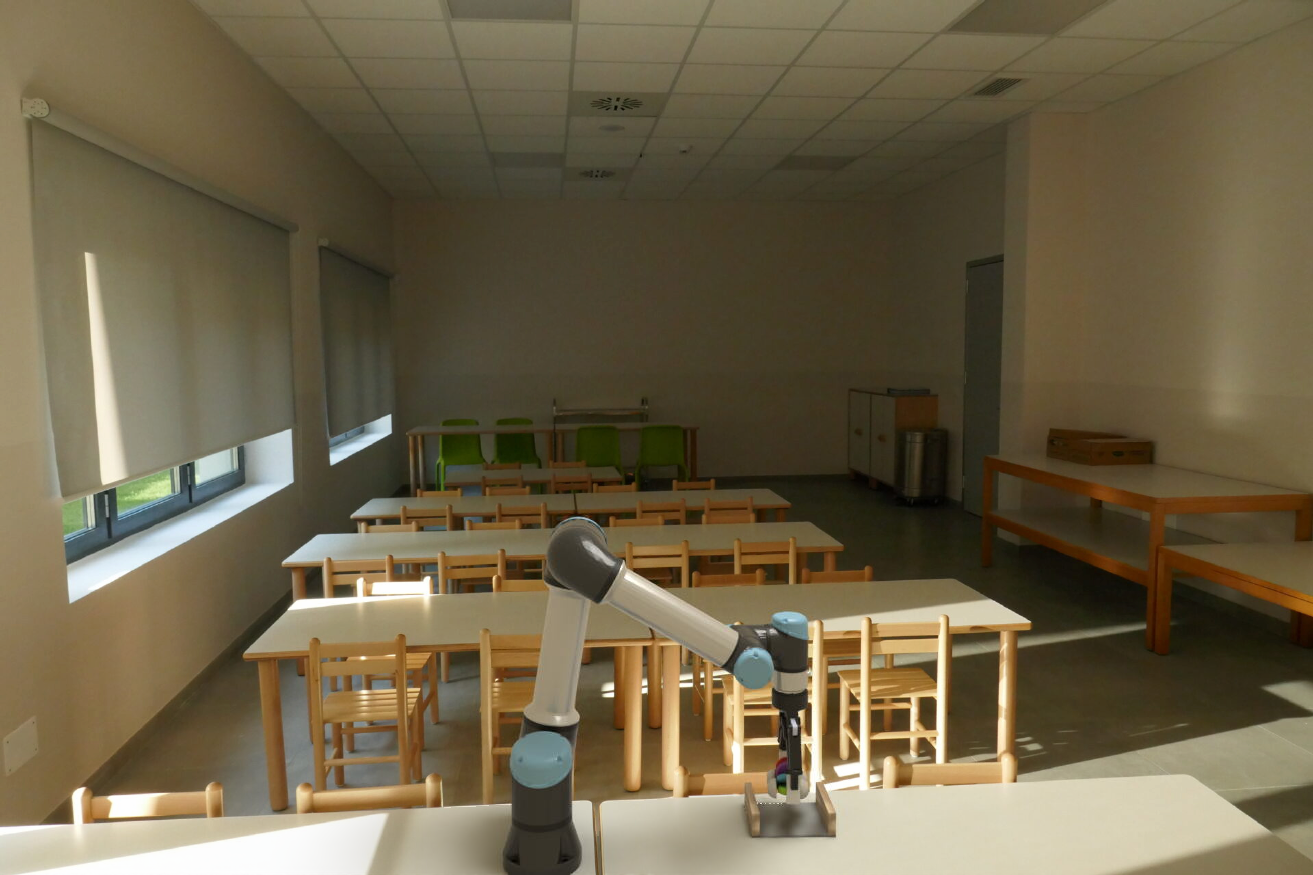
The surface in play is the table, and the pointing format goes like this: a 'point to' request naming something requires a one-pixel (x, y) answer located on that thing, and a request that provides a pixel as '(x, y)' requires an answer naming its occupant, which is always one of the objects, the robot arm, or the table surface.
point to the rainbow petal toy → (784, 780)
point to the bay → (791, 816)
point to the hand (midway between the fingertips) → (789, 791)
